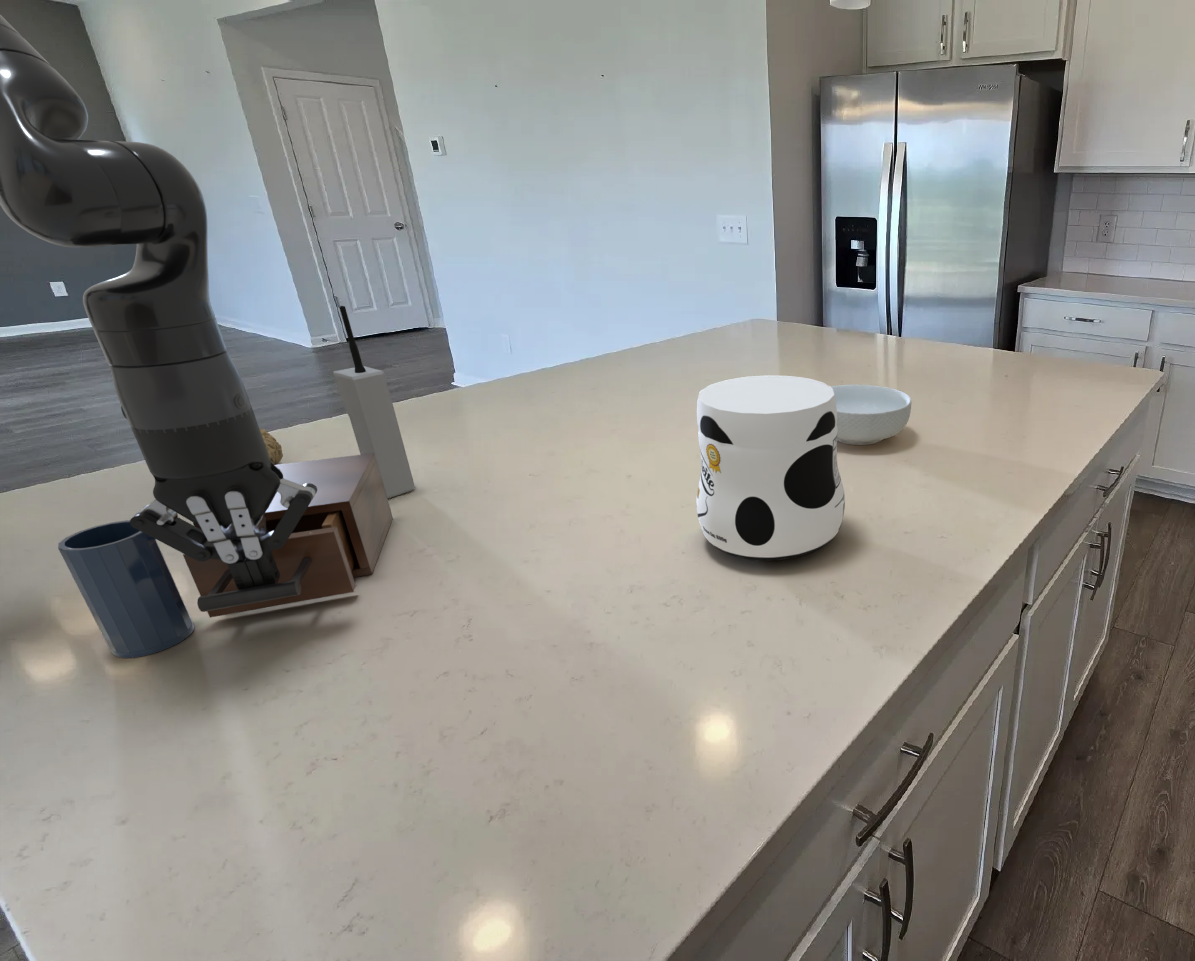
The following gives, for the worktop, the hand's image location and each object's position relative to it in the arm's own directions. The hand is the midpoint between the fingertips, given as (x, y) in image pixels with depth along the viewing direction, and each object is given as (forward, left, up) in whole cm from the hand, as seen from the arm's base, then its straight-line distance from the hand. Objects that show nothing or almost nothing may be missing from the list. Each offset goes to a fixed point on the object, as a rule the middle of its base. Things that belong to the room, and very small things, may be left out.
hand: (262, 591), depth 64 cm
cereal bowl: (+73, +28, -5) cm, 78 cm away
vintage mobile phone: (+5, +33, -5) cm, 34 cm away
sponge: (-16, +46, -5) cm, 49 cm away
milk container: (+49, 0, -5) cm, 49 cm away
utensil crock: (-10, +3, -5) cm, 12 cm away
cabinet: (0, +16, -5) cm, 17 cm away
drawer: (0, +7, -4) cm, 8 cm away
